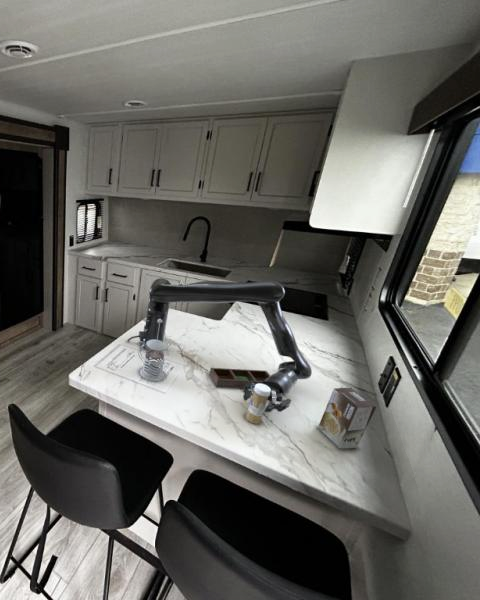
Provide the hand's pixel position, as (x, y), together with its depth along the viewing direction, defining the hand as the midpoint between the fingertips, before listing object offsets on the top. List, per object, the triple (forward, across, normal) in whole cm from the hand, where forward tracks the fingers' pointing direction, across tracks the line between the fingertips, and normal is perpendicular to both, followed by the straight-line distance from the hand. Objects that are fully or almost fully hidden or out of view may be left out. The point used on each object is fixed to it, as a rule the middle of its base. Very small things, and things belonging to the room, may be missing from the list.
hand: (255, 404), depth 103 cm
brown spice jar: (-2, 0, +8) cm, 8 cm away
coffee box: (-17, +20, +8) cm, 27 cm away
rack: (-20, -13, +8) cm, 25 cm away
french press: (+6, -38, +8) cm, 40 cm away
